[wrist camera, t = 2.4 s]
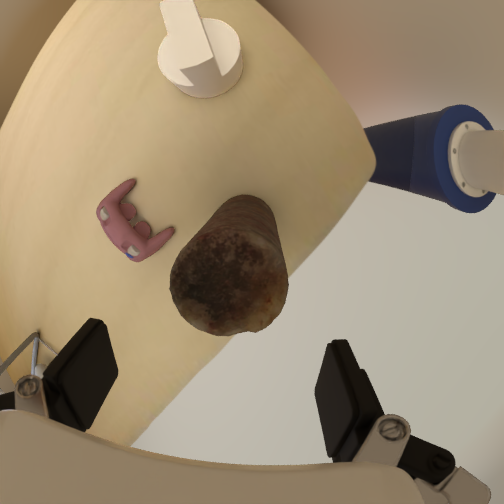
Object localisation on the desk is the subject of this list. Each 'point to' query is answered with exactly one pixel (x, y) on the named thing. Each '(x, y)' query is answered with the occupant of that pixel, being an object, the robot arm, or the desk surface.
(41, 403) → the robot arm
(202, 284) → the rusty brown cylinder
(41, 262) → the desk surface
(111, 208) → the video game controller
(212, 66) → the base with upright slab
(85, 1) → the desk surface
